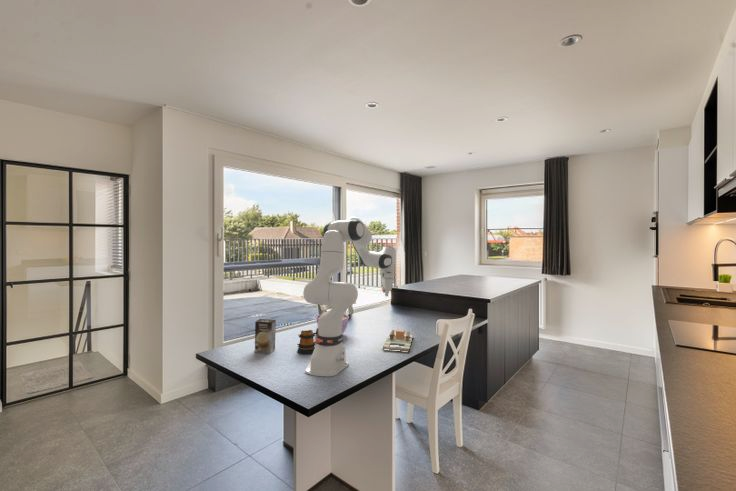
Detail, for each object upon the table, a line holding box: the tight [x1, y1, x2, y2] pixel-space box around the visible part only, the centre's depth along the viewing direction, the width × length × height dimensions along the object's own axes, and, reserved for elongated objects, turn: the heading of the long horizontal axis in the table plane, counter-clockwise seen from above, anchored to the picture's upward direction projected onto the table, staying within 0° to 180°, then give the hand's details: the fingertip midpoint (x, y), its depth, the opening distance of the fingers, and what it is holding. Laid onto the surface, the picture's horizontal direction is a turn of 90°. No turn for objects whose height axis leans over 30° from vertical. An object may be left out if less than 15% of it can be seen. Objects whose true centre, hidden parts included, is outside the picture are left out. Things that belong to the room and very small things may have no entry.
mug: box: [296, 327, 318, 356], centre depth 178 cm, size 13×10×12 cm
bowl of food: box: [315, 313, 350, 335], centre depth 207 cm, size 20×20×12 cm
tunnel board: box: [382, 329, 414, 352], centre depth 193 cm, size 28×14×5 cm, turn 168°
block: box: [395, 328, 405, 339], centre depth 199 cm, size 4×4×4 cm
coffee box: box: [254, 318, 277, 354], centre depth 177 cm, size 9×6×16 cm
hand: (385, 294), depth 211 cm, fingers open, 8 cm apart
